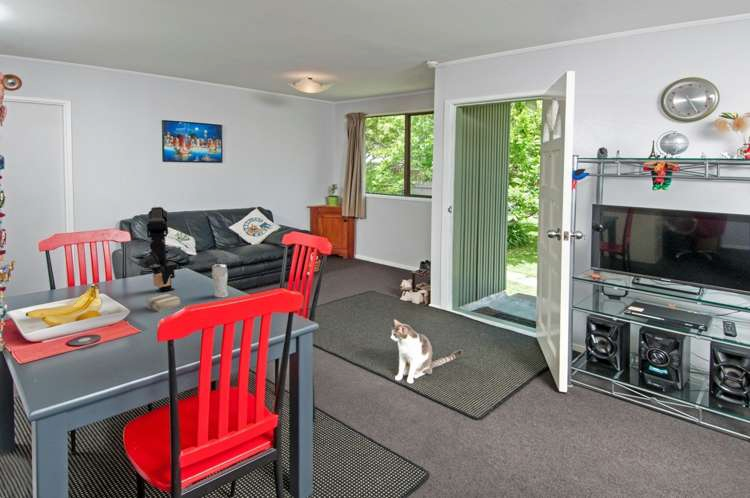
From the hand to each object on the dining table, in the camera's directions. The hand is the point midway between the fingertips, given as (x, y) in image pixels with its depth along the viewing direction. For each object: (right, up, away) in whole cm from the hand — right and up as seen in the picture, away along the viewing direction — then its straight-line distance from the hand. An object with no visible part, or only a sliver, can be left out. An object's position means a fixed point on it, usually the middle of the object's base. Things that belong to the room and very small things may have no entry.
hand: (161, 283), depth 213 cm
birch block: (0, -11, +2) cm, 11 cm away
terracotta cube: (0, -1, 0) cm, 1 cm away
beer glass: (+20, -8, +19) cm, 29 cm away
